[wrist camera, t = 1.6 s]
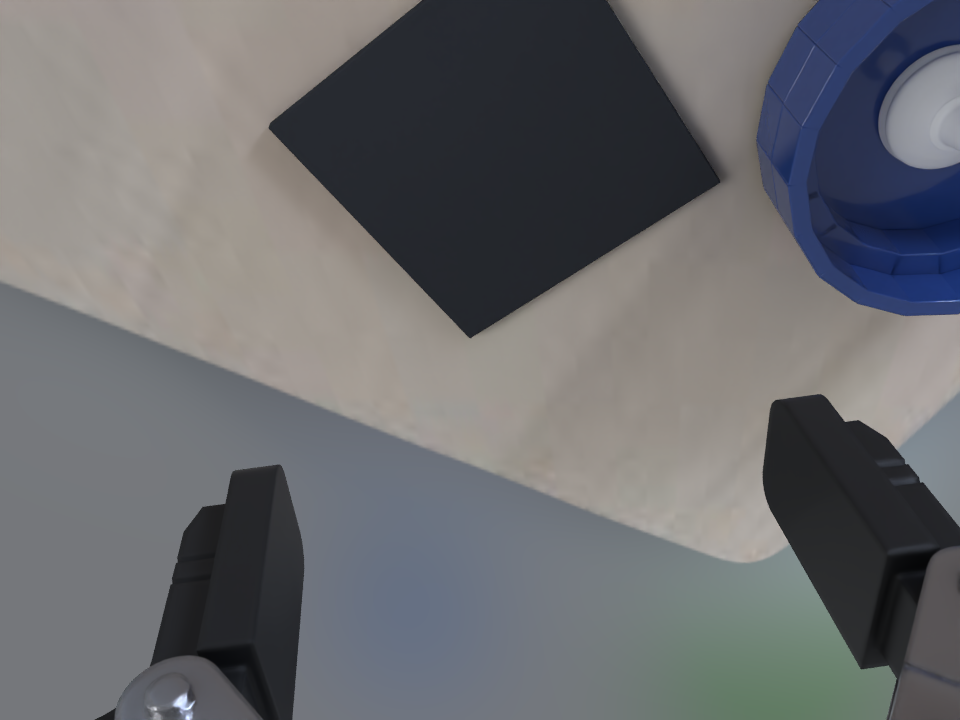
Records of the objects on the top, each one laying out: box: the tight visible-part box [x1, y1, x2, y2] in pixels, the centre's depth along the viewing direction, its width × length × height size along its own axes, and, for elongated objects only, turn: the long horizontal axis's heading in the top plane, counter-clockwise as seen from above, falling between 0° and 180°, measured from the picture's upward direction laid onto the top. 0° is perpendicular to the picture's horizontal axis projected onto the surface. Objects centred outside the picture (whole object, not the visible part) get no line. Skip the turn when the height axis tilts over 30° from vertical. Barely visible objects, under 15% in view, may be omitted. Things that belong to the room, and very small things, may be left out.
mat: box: [269, 0, 720, 338], centre depth 36 cm, size 13×13×1 cm
